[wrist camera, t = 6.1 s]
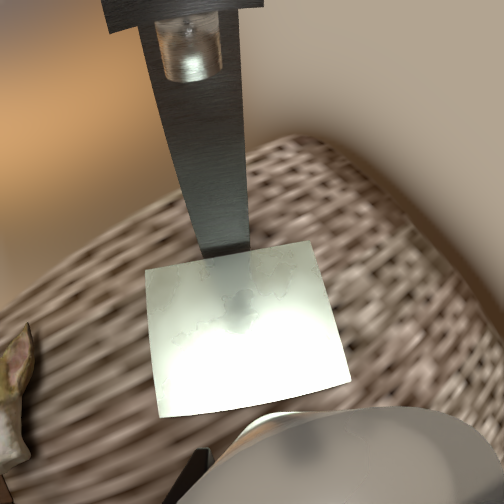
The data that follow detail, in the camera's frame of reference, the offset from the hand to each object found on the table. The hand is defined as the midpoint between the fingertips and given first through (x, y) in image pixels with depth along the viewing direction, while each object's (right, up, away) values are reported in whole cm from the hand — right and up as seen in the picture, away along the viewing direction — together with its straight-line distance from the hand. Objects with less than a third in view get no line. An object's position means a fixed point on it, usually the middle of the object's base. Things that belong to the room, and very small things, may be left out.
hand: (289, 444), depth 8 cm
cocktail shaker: (0, -4, +5) cm, 7 cm away
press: (0, +2, +16) cm, 16 cm away
